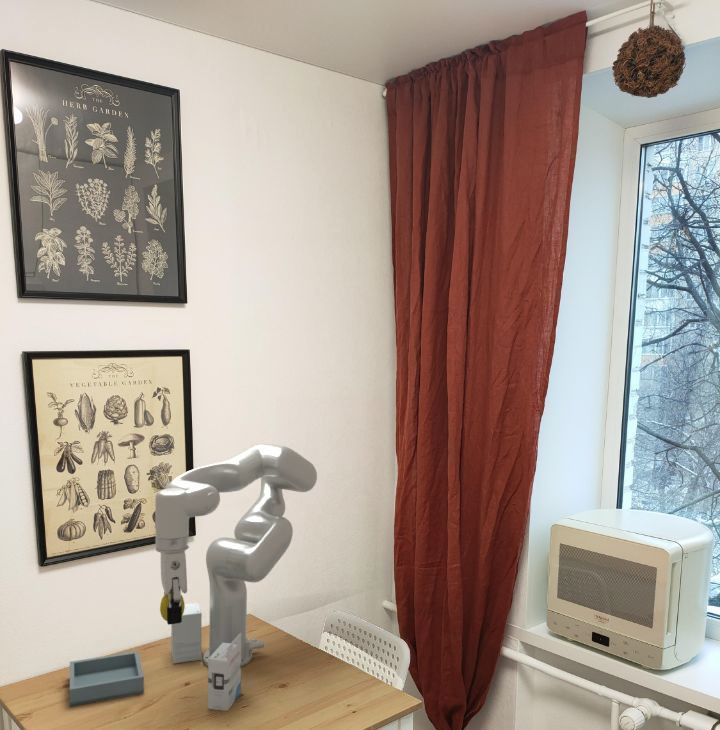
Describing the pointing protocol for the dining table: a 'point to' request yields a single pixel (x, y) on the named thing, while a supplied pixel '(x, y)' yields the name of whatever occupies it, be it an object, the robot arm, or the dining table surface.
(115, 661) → the walled box
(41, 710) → the dining table surface
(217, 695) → the ink box
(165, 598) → the lemon
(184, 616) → the supplement box
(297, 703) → the dining table surface
